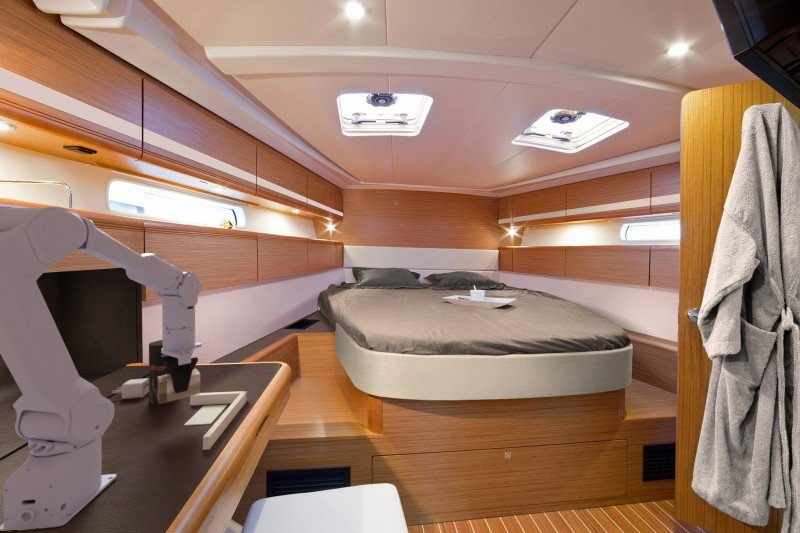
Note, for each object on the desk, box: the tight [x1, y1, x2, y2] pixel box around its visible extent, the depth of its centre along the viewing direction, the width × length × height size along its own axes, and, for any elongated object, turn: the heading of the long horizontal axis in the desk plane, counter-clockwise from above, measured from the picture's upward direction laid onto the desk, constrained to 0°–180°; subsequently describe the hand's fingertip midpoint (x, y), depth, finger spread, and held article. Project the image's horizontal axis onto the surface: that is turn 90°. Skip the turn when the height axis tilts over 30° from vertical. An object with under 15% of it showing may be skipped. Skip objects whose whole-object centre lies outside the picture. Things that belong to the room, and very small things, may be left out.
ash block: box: [158, 368, 201, 405], centre depth 65 cm, size 4×7×4 cm, turn 134°
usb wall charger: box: [111, 377, 149, 400], centre depth 79 cm, size 4×7×4 cm, turn 105°
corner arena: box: [183, 390, 248, 451], centre depth 66 cm, size 20×13×2 cm, turn 8°
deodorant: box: [148, 339, 172, 406], centre depth 77 cm, size 6×6×15 cm
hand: (179, 388), depth 65 cm, fingers closed on ash block, 4 cm apart
